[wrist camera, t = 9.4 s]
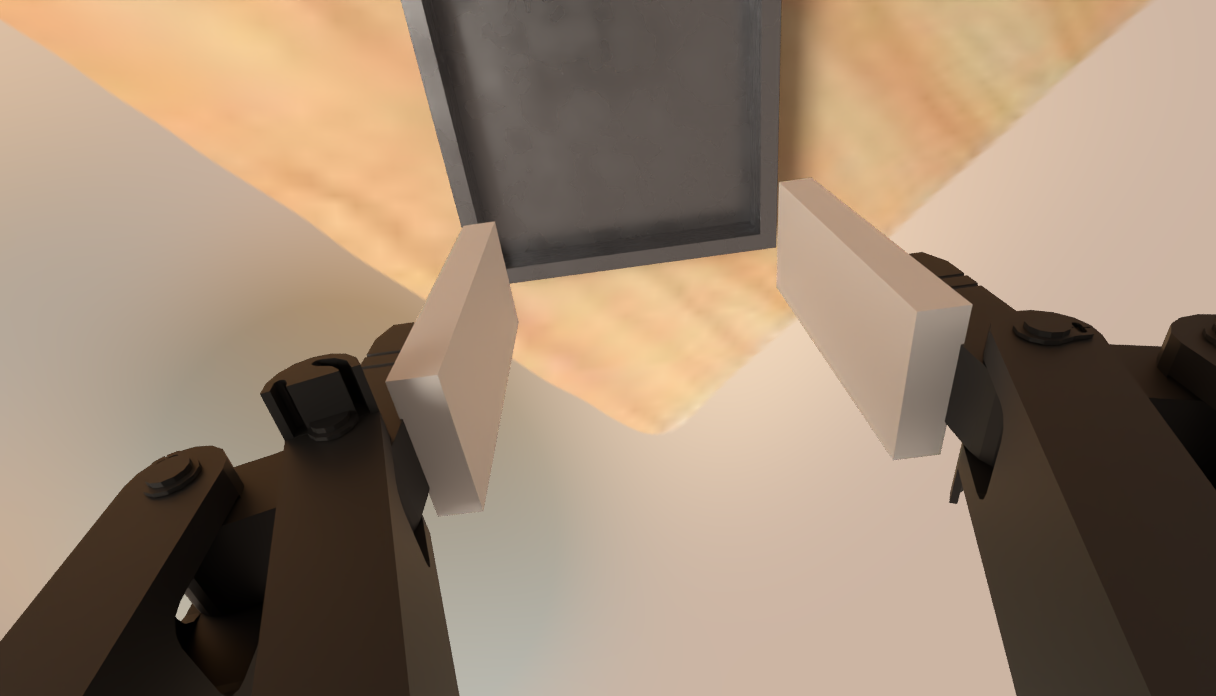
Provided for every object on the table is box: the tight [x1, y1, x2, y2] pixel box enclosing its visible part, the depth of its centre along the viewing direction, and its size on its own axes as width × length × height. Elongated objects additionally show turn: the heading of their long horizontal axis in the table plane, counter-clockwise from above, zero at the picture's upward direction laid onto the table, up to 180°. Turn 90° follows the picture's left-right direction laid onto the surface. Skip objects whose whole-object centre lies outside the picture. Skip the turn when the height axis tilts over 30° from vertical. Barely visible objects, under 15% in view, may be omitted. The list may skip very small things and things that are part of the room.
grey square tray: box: [401, 0, 781, 284], centre depth 34 cm, size 19×19×4 cm
